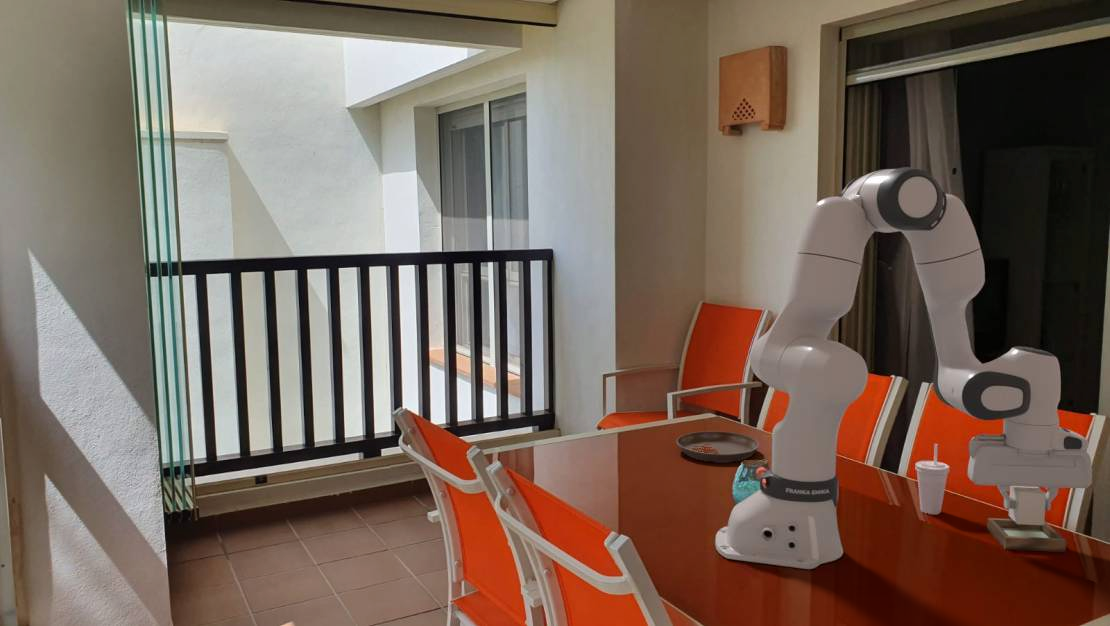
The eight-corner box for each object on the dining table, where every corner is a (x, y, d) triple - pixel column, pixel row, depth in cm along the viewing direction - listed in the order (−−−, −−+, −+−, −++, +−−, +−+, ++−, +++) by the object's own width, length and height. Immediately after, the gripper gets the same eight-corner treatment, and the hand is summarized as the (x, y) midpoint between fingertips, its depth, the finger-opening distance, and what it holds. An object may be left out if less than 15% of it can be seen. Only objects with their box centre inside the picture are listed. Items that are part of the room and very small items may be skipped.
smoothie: (951, 517, 170) (954, 449, 168) (917, 515, 171) (919, 447, 169) (943, 506, 176) (946, 440, 174) (910, 505, 177) (912, 439, 176)
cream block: (1017, 524, 155) (1019, 492, 155) (1008, 515, 160) (1010, 484, 159) (1044, 525, 155) (1045, 493, 154) (1034, 516, 159) (1036, 485, 158)
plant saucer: (767, 465, 207) (767, 452, 207) (682, 466, 208) (682, 452, 207) (749, 443, 228) (749, 431, 228) (671, 443, 228) (672, 431, 228)
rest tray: (1005, 549, 153) (1005, 537, 153) (987, 529, 163) (987, 518, 163) (1065, 552, 152) (1066, 540, 152) (1043, 531, 162) (1044, 520, 161)
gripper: (974, 438, 154) (971, 512, 156) (1098, 441, 151) (1094, 516, 152) (964, 429, 160) (961, 500, 162) (1082, 432, 157) (1078, 505, 158)
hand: (1026, 508), depth 157 cm, fingers closed on cream block, 4 cm apart
